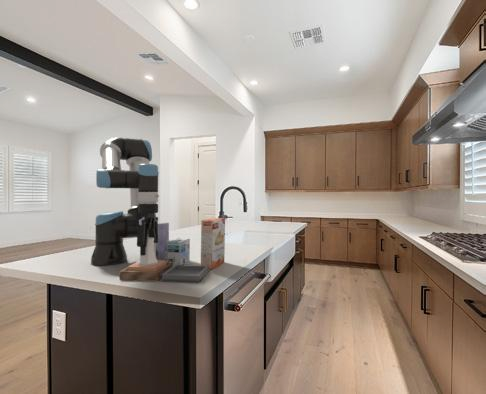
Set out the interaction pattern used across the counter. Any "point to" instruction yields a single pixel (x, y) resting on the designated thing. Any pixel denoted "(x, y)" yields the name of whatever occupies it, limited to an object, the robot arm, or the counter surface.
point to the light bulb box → (179, 251)
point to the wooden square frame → (144, 274)
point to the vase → (150, 253)
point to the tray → (185, 273)
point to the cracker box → (212, 242)
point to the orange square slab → (148, 268)
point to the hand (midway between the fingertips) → (148, 261)
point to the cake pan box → (162, 241)
